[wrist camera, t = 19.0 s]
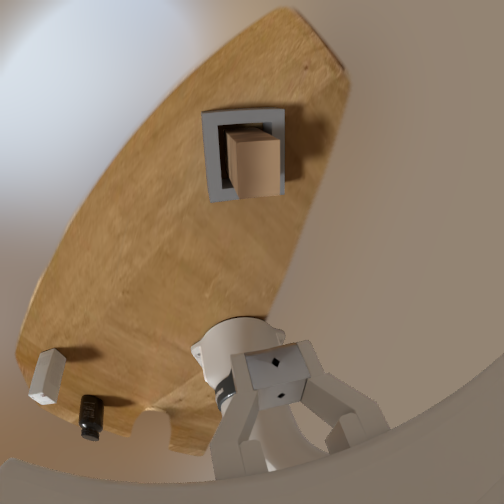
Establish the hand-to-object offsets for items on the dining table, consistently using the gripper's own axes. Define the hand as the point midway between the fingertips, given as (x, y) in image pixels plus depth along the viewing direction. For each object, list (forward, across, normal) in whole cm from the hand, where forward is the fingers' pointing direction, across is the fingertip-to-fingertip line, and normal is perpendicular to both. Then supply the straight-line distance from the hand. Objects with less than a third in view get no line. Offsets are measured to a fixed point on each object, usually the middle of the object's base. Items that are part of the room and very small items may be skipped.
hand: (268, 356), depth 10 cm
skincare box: (+28, +40, +34) cm, 60 cm away
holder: (+28, -4, -2) cm, 29 cm away
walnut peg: (+28, -4, -2) cm, 29 cm away
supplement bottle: (+29, +40, +55) cm, 74 cm away
